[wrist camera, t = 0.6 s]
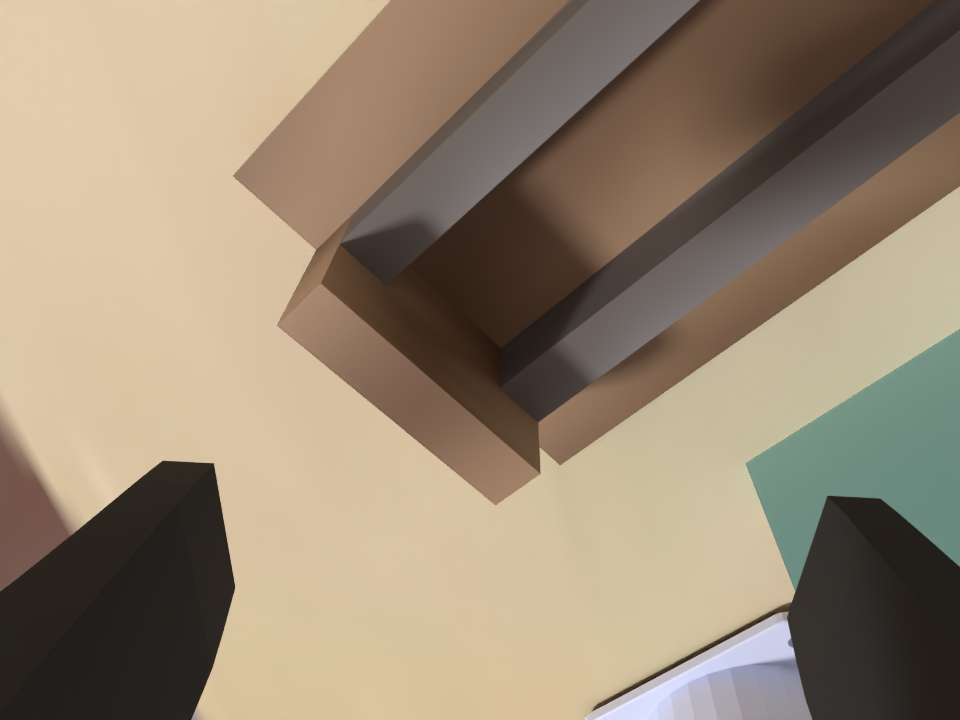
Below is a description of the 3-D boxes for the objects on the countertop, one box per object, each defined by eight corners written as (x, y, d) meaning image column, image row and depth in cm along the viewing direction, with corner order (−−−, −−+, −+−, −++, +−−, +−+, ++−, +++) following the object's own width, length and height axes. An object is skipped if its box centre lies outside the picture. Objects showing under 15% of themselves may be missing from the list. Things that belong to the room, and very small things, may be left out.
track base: (1350, -134, 14) (1671, -135, 10) (557, 435, 21) (567, 564, 17) (1105, -793, 10) (1456, -1186, 6) (249, 157, 17) (173, 240, 13)
